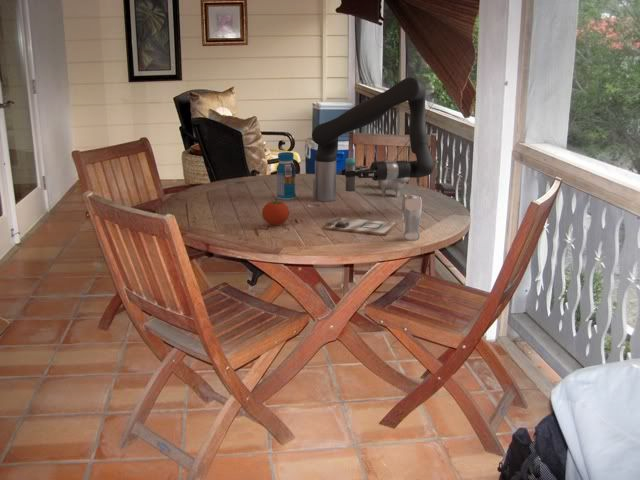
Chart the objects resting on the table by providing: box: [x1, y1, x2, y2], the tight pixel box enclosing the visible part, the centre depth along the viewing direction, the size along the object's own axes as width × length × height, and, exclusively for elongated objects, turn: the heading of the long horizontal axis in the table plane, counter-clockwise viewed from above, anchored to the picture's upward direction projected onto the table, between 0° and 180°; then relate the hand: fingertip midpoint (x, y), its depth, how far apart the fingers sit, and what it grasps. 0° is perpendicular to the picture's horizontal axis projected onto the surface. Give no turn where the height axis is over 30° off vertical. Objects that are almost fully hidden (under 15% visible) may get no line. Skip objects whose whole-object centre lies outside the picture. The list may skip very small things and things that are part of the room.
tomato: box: [261, 199, 290, 226], centre depth 255 cm, size 10×10×10 cm
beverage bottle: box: [275, 151, 297, 201], centre depth 297 cm, size 8×8×20 cm
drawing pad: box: [322, 216, 399, 237], centre depth 253 cm, size 24×17×3 cm
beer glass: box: [401, 194, 423, 241], centre depth 236 cm, size 7×7×15 cm
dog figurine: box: [380, 177, 410, 198], centre depth 302 cm, size 5×13×11 cm, turn 74°
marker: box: [345, 157, 356, 193], centre depth 262 cm, size 4×4×12 cm
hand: (343, 173), depth 261 cm, fingers closed on marker, 3 cm apart
